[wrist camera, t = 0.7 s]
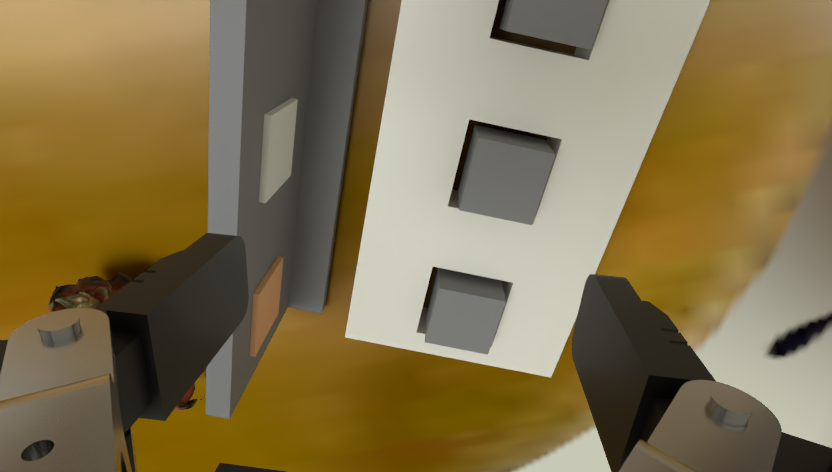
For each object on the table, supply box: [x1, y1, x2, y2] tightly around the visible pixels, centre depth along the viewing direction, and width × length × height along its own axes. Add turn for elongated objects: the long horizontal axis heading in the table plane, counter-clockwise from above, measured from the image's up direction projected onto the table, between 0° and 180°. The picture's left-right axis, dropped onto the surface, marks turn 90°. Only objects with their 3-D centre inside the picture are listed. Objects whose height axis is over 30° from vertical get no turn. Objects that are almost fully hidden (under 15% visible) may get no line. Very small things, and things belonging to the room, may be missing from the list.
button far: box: [425, 268, 506, 355], centre depth 30 cm, size 4×4×3 cm
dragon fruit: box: [48, 272, 202, 410], centre depth 32 cm, size 8×8×12 cm
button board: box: [345, 0, 710, 377], centre depth 28 cm, size 26×14×3 cm, turn 169°
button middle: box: [458, 125, 556, 225], centre depth 26 cm, size 4×4×3 cm
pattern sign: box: [206, 0, 368, 419], centre depth 24 cm, size 26×6×11 cm, turn 169°
